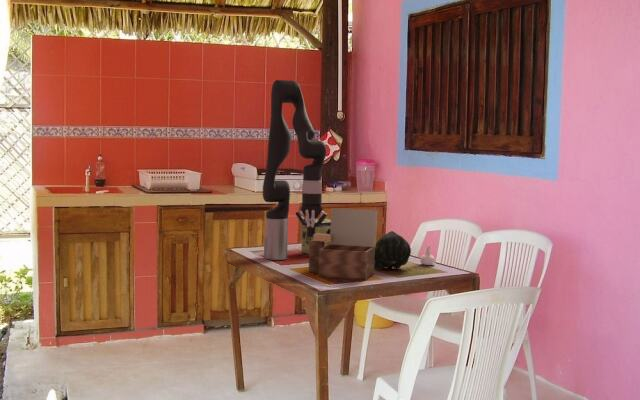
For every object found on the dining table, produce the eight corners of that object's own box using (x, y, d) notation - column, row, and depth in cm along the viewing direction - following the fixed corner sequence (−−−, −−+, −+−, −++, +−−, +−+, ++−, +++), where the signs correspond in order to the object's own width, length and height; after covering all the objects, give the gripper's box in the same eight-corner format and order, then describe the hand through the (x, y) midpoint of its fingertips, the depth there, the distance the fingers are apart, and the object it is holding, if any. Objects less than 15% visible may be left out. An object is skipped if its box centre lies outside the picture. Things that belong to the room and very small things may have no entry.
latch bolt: (313, 240, 271) (313, 234, 271) (316, 239, 275) (316, 233, 275) (330, 241, 269) (330, 235, 269) (333, 240, 273) (333, 234, 273)
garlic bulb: (427, 262, 301) (427, 243, 301) (438, 264, 296) (438, 245, 296) (416, 263, 298) (417, 244, 297) (427, 265, 293) (428, 246, 292)
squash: (368, 267, 287) (368, 230, 285) (401, 265, 291) (402, 229, 290) (381, 273, 273) (382, 234, 272) (416, 271, 278) (417, 234, 276)
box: (302, 275, 265) (302, 243, 264) (313, 269, 278) (314, 239, 277) (365, 280, 258) (366, 247, 257) (374, 274, 271) (374, 242, 270)
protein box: (300, 255, 313) (301, 220, 312) (326, 252, 324) (326, 218, 323) (316, 258, 306) (317, 222, 304) (342, 255, 316) (342, 220, 315)
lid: (331, 208, 276) (332, 208, 277) (329, 244, 276) (330, 244, 276) (377, 210, 271) (377, 210, 272) (375, 247, 270) (375, 247, 271)
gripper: (292, 192, 270) (291, 236, 271) (325, 193, 266) (324, 238, 268) (298, 191, 277) (298, 234, 279) (331, 192, 273) (330, 236, 275)
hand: (311, 236), depth 273 cm, fingers closed
